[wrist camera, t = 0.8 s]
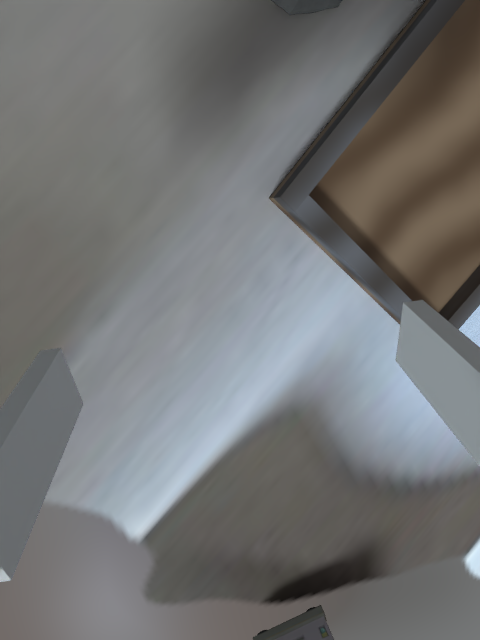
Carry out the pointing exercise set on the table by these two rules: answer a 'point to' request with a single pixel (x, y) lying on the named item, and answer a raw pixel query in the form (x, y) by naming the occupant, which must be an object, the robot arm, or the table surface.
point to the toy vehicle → (300, 628)
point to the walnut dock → (403, 170)
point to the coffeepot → (306, 5)
